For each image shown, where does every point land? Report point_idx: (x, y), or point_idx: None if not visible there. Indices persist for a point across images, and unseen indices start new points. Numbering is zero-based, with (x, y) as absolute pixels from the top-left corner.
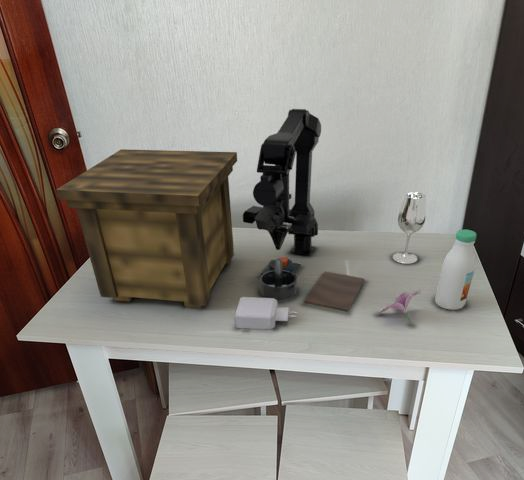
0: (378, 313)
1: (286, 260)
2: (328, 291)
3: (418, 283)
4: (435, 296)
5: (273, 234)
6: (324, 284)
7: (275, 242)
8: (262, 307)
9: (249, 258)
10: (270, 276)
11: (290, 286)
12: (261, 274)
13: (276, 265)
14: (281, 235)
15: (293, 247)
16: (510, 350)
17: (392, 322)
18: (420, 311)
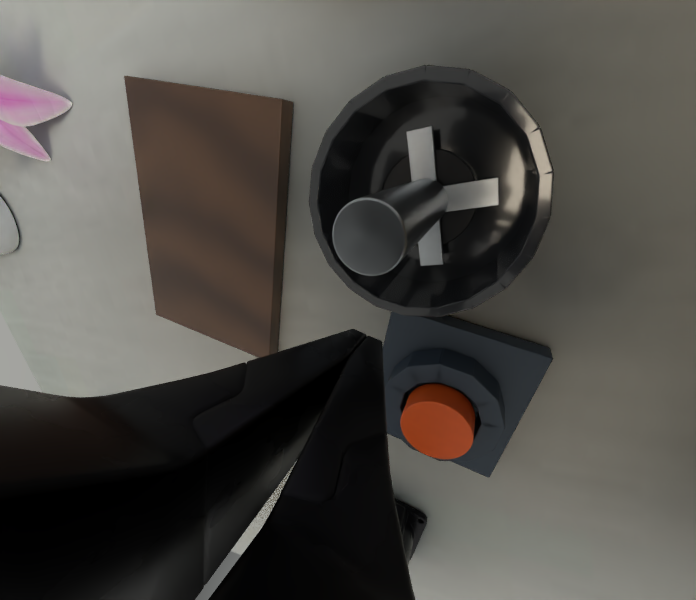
0: (59, 95)
1: (403, 414)
2: (219, 211)
3: (72, 305)
4: (1, 224)
5: (308, 483)
6: (245, 265)
7: (351, 379)
8: None
9: (631, 522)
10: (481, 279)
11: (329, 131)
12: (547, 354)
13: (391, 192)
14: (142, 399)
15: (417, 543)
16: None
17: (30, 66)
18: (15, 159)
